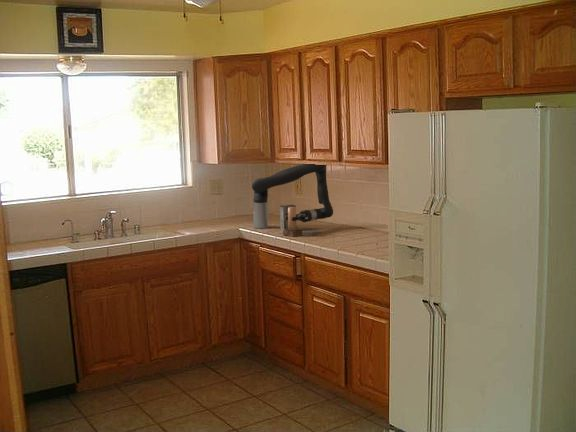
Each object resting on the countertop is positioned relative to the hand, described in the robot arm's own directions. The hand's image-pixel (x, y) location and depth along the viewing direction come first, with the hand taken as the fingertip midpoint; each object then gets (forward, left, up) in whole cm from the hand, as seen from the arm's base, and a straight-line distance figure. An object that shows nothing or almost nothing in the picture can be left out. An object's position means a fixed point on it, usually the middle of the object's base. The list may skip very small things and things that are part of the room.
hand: (289, 218), depth 419 cm
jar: (0, +3, -9) cm, 9 cm away
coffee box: (-18, +17, -11) cm, 27 cm away
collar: (0, +3, -11) cm, 11 cm away
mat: (+3, +16, -11) cm, 19 cm away
